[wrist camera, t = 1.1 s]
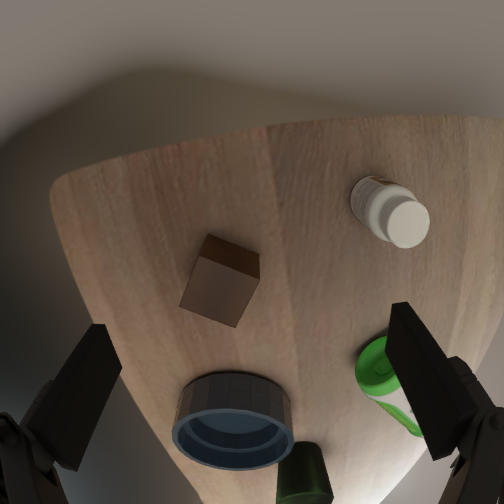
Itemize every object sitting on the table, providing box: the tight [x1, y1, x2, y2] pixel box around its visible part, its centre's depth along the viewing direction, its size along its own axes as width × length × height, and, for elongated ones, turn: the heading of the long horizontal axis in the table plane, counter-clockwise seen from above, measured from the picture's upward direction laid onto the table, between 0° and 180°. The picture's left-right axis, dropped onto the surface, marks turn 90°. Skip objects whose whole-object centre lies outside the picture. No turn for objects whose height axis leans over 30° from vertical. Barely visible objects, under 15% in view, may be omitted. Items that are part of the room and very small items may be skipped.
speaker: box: [355, 336, 424, 438], centre depth 31 cm, size 18×7×8 cm, turn 43°
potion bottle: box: [276, 442, 334, 504], centre depth 33 cm, size 8×8×18 cm
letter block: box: [179, 234, 260, 328], centre depth 27 cm, size 5×5×5 cm
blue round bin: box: [172, 373, 295, 471], centre depth 34 cm, size 14×14×6 cm
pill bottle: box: [350, 176, 430, 248], centre depth 23 cm, size 4×4×8 cm
